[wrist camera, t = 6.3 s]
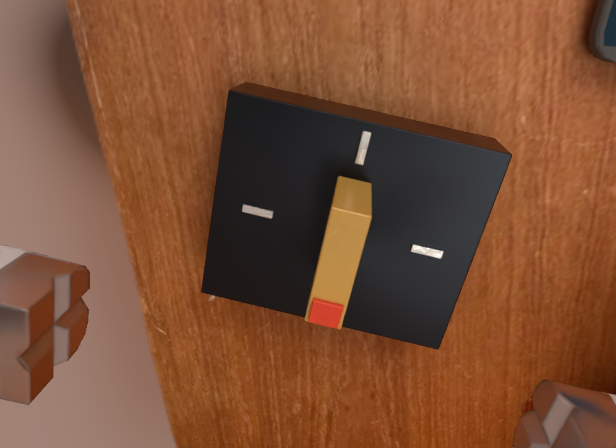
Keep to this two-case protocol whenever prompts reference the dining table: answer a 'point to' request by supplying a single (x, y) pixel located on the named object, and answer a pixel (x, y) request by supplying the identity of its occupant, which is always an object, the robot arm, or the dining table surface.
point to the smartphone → (604, 31)
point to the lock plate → (317, 201)
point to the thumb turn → (340, 252)
